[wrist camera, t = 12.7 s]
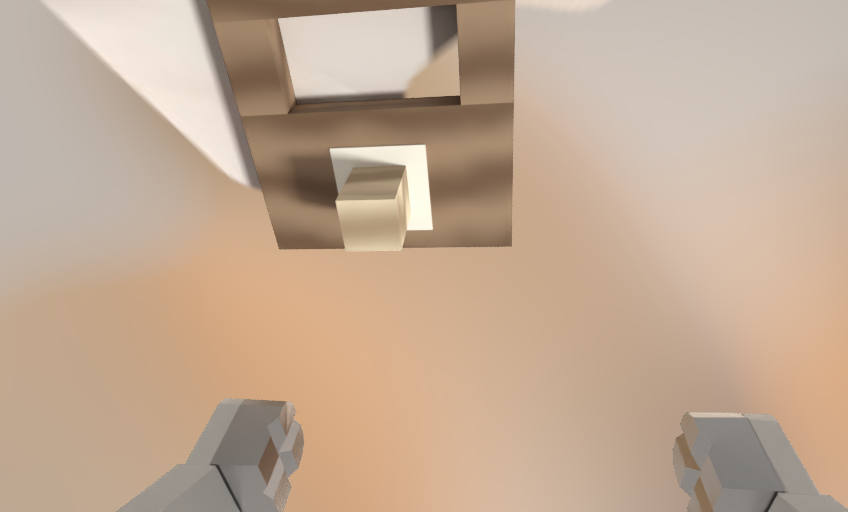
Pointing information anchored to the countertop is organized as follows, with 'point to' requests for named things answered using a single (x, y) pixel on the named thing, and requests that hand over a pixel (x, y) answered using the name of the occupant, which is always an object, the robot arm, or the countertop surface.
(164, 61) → the countertop surface
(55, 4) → the countertop surface
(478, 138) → the pocket board
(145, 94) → the countertop surface
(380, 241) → the ash block
